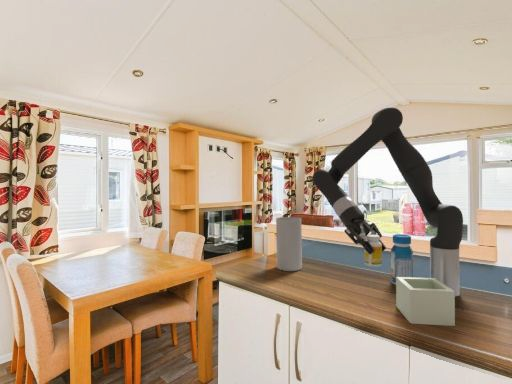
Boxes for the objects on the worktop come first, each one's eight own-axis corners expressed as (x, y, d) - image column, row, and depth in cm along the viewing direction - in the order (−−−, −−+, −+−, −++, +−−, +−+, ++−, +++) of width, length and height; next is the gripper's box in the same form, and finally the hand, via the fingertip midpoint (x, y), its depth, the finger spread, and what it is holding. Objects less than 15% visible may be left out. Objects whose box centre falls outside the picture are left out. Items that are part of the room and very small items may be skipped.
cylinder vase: (272, 266, 145) (271, 218, 145) (292, 263, 151) (291, 216, 150) (286, 273, 134) (285, 220, 134) (307, 269, 140) (306, 218, 139)
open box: (396, 306, 95) (396, 276, 95) (434, 308, 94) (434, 278, 94) (410, 323, 84) (410, 289, 83) (454, 325, 82) (454, 291, 82)
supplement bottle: (361, 264, 94) (361, 235, 93) (368, 261, 97) (367, 233, 97) (378, 267, 90) (378, 237, 90) (384, 264, 94) (384, 235, 93)
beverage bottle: (403, 288, 112) (402, 237, 112) (386, 281, 120) (385, 234, 120) (418, 285, 115) (418, 236, 115) (400, 279, 123) (400, 233, 123)
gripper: (339, 206, 96) (370, 247, 86) (367, 203, 103) (398, 241, 93) (328, 220, 100) (356, 261, 90) (355, 217, 108) (384, 254, 98)
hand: (377, 251), depth 92 cm, fingers closed on supplement bottle, 5 cm apart
